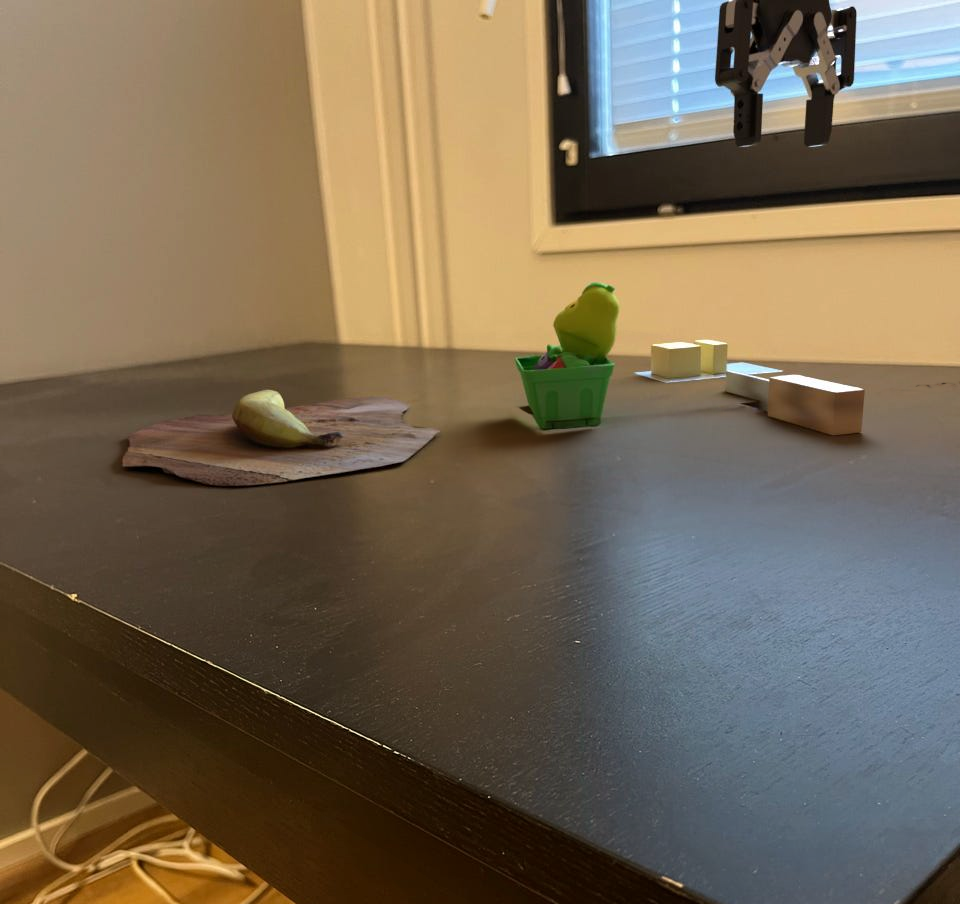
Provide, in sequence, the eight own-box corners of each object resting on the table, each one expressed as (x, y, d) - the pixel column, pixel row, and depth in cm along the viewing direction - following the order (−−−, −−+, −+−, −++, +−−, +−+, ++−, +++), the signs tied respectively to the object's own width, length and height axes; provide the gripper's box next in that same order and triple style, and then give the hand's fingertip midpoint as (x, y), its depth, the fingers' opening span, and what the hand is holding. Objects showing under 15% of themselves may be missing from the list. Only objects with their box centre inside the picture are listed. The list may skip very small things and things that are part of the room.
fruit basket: (515, 412, 92) (510, 285, 88) (609, 405, 93) (608, 278, 88) (525, 433, 82) (519, 290, 78) (631, 426, 82) (631, 283, 78)
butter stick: (681, 370, 106) (681, 341, 105) (701, 375, 102) (701, 345, 101) (650, 373, 106) (650, 344, 104) (669, 378, 101) (669, 348, 100)
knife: (861, 432, 74) (865, 389, 73) (832, 435, 74) (835, 392, 72) (738, 397, 92) (739, 362, 91) (714, 400, 92) (715, 365, 91)
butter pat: (706, 368, 107) (706, 339, 106) (726, 373, 102) (727, 343, 101) (693, 369, 107) (693, 340, 105) (713, 374, 102) (714, 344, 101)
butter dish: (742, 369, 110) (742, 362, 110) (783, 378, 102) (783, 370, 101) (633, 380, 107) (632, 372, 107) (665, 390, 99) (665, 382, 99)
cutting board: (129, 427, 99) (122, 388, 97) (395, 399, 105) (392, 362, 104) (110, 504, 67) (98, 448, 66) (490, 457, 74) (487, 406, 72)
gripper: (769, -107, 72) (758, 141, 78) (892, -85, 79) (874, 141, 85) (695, -77, 78) (691, 151, 84) (816, -59, 85) (804, 150, 91)
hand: (783, 145), depth 84 cm, fingers open, 8 cm apart
